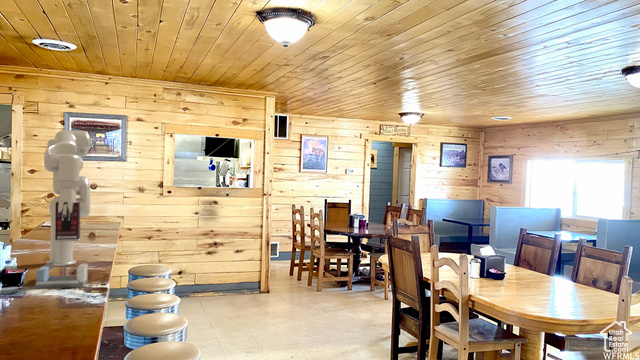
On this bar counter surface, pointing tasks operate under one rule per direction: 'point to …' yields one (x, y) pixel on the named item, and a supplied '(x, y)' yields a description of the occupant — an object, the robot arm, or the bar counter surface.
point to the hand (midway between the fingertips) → (67, 229)
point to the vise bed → (66, 279)
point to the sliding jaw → (44, 272)
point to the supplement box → (75, 225)
